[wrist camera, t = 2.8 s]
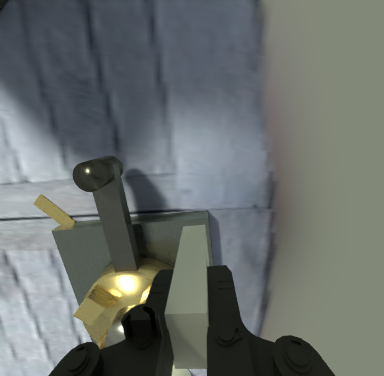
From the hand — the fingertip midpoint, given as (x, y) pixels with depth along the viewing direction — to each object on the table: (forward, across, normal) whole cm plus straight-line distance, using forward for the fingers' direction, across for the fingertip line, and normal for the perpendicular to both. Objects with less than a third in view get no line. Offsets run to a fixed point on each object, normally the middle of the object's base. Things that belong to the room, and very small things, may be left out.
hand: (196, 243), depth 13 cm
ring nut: (+7, -8, -6) cm, 12 cm away
